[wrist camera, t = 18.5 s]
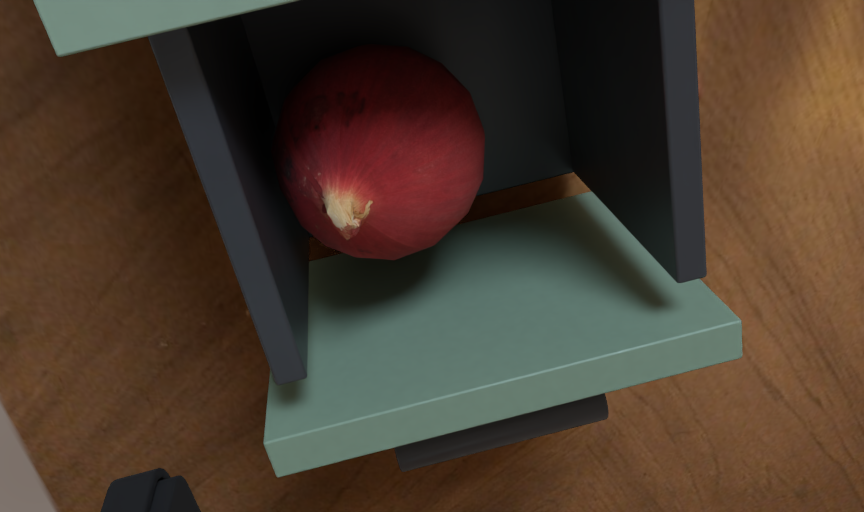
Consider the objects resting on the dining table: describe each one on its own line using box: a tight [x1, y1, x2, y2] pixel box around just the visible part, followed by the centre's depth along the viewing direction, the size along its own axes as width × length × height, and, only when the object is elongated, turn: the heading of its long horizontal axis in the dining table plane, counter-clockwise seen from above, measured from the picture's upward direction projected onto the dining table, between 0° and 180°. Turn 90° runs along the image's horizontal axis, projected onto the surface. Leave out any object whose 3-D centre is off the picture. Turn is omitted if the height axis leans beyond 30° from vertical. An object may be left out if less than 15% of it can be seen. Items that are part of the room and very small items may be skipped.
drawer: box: [148, 0, 742, 477], centre depth 22 cm, size 19×12×10 cm, turn 12°
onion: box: [271, 44, 485, 260], centre depth 21 cm, size 6×6×8 cm
